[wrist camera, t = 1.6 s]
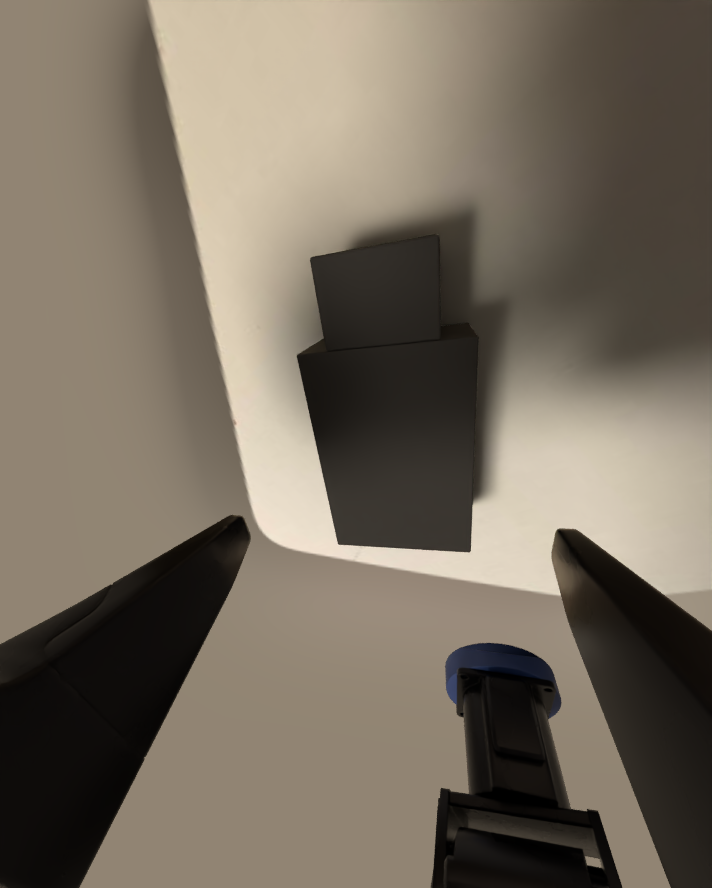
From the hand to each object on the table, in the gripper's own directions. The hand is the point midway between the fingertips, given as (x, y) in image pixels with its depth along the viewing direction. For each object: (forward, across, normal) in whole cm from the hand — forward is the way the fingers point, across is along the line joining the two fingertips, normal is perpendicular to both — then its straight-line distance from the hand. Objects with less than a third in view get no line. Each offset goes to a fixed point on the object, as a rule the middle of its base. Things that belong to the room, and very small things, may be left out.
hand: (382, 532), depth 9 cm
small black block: (+7, 0, -1) cm, 7 cm away
